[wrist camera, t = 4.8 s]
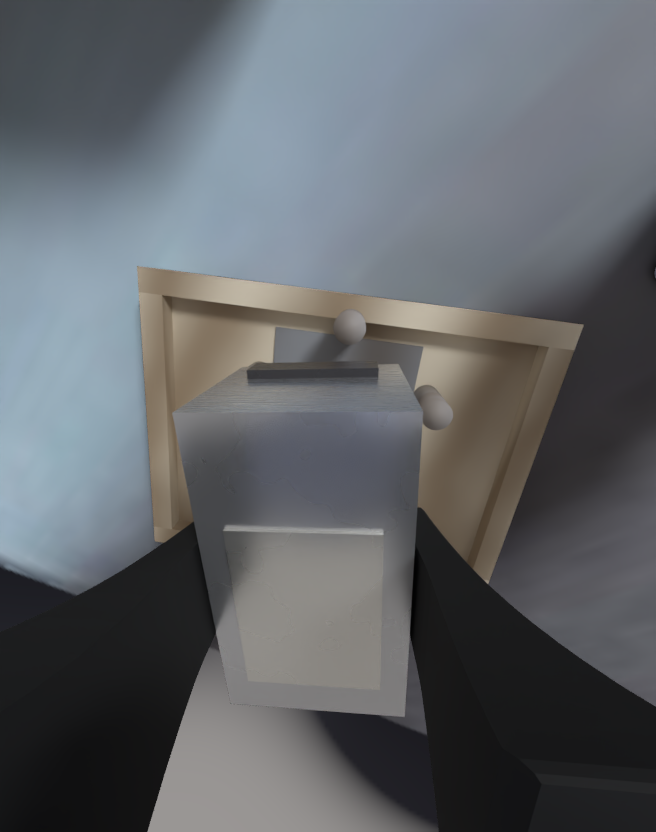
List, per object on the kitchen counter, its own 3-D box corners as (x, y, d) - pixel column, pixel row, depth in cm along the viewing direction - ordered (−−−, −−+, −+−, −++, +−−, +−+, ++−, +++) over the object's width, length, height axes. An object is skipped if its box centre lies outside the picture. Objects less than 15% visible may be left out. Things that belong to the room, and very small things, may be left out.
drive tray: (556, 320, 15) (614, 329, 12) (472, 566, 20) (496, 623, 17) (163, 269, 16) (108, 262, 13) (173, 518, 21) (135, 564, 17)
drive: (398, 356, 11) (425, 400, 6) (390, 586, 14) (404, 720, 10) (241, 359, 11) (167, 402, 7) (268, 581, 14) (229, 707, 10)
